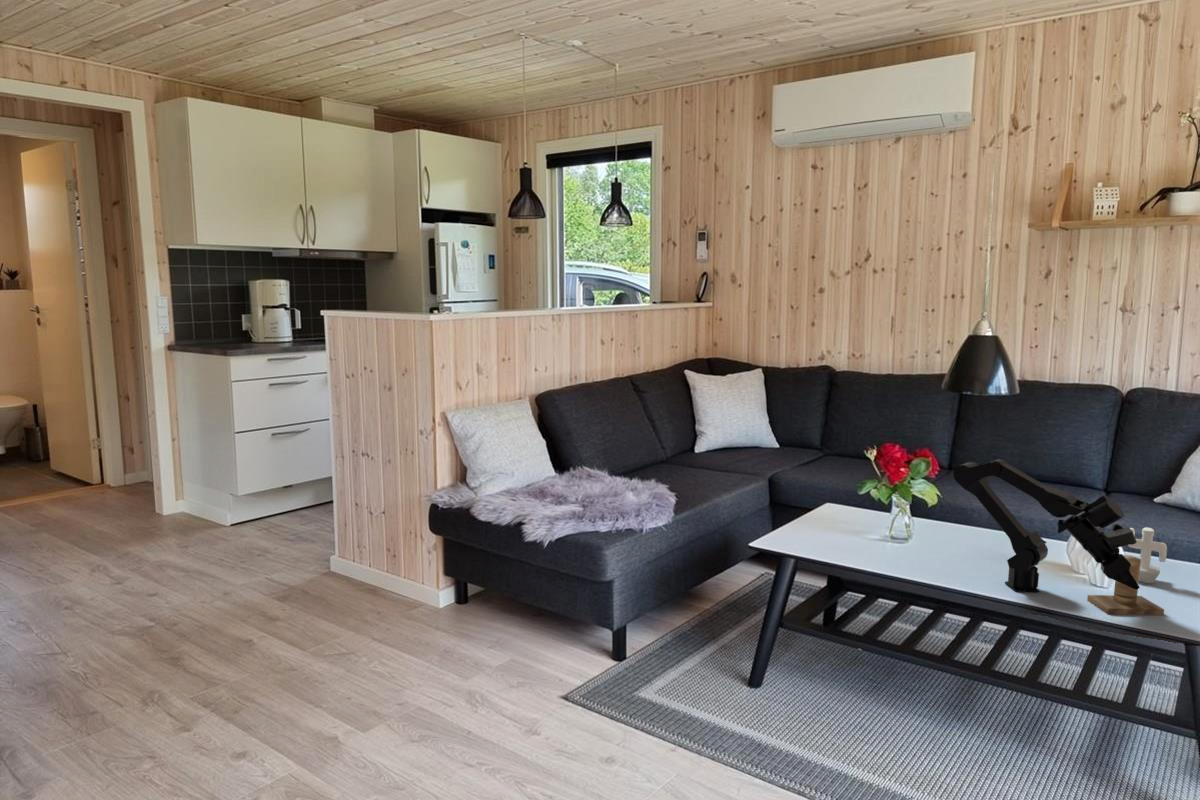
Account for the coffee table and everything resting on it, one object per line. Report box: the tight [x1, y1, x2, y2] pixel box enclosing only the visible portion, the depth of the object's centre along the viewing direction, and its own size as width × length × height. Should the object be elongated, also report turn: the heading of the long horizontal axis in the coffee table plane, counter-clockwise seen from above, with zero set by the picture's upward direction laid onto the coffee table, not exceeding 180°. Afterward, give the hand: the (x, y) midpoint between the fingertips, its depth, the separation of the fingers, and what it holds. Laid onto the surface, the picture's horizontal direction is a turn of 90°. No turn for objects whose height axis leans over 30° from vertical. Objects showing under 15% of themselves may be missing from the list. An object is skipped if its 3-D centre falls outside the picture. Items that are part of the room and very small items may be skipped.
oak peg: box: [1113, 554, 1141, 606], centre depth 210 cm, size 5×5×13 cm
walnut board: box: [1087, 594, 1165, 616], centre depth 211 cm, size 14×9×2 cm, turn 89°
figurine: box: [1127, 526, 1168, 585], centre depth 230 cm, size 7×9×15 cm
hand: (1133, 582), depth 209 cm, fingers open, 9 cm apart
